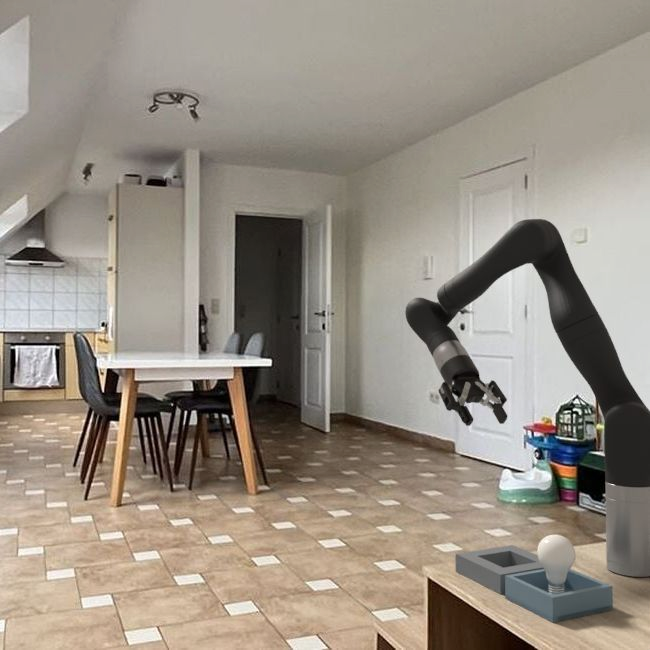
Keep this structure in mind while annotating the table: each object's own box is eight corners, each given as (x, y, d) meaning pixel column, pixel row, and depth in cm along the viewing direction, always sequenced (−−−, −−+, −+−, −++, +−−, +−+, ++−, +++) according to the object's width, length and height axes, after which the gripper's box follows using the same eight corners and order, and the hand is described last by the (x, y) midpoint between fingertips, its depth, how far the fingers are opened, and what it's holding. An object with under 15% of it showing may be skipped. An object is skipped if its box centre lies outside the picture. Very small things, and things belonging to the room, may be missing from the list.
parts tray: (562, 587, 132) (562, 565, 133) (612, 609, 122) (612, 586, 122) (505, 598, 127) (505, 575, 127) (552, 622, 116) (552, 597, 116)
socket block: (512, 562, 148) (512, 545, 148) (560, 583, 135) (560, 564, 135) (455, 571, 142) (455, 553, 142) (500, 594, 129) (500, 574, 129)
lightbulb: (578, 606, 121) (577, 541, 121) (539, 604, 122) (538, 539, 122) (573, 593, 127) (572, 531, 127) (535, 591, 128) (535, 529, 128)
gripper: (434, 354, 154) (466, 412, 144) (488, 353, 160) (523, 409, 150) (421, 377, 159) (451, 435, 148) (474, 376, 165) (507, 431, 154)
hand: (487, 422), depth 149 cm, fingers open, 8 cm apart
